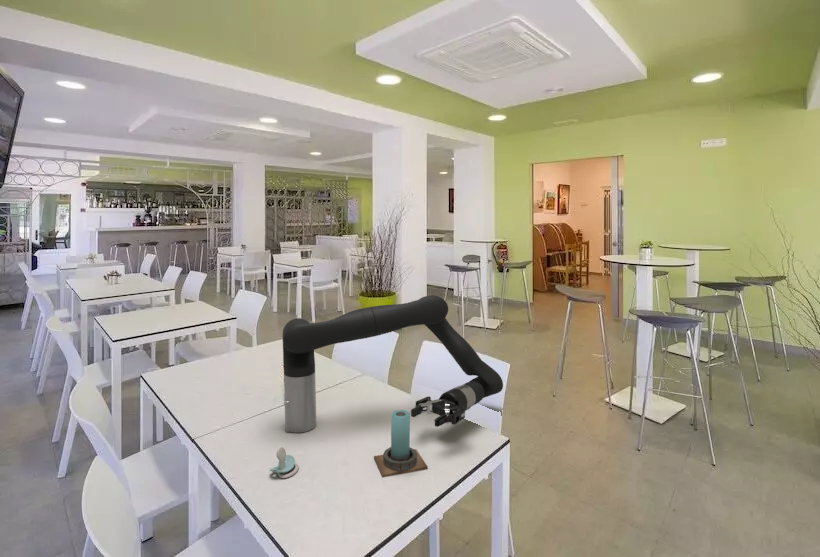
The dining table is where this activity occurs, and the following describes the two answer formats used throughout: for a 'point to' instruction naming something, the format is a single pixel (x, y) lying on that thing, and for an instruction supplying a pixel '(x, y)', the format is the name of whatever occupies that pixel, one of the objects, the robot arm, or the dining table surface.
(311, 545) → the dining table surface
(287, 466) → the pacifier
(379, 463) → the socket
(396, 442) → the teal cylinder
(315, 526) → the dining table surface
